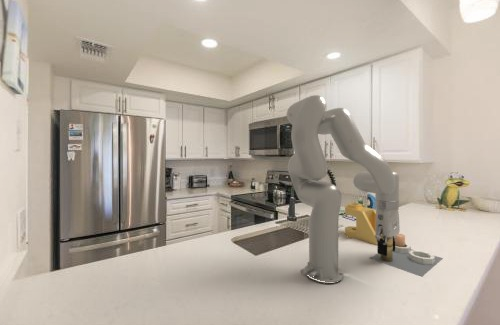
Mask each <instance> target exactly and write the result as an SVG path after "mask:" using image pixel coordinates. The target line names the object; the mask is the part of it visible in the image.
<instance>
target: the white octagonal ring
mask: <svg viewBox="0 0 500 325" xmlns="http://www.w3.org/2000/svg"><path fill="white" fill-rule="evenodd" d="M435 256H436V255H434V254H432V253H430V252H427V251H423V250H417V249H416V250H415V249H412V250H411V251H410V252H409V258H410V259H411V260H412V261H414V262H417V263H421V264H429V265H432V264H433V263H435Z"/></svg>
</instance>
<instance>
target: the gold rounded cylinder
mask: <svg viewBox="0 0 500 325" xmlns="http://www.w3.org/2000/svg"><path fill="white" fill-rule="evenodd" d="M381 235H383V236H385V235H384V234H381ZM381 238H382V239H383V240H384V237H381ZM386 245H387V256H384V255H381V254H380V259H381V260H383V261H386V262H392V261H393V237H390V238H387V242H386Z"/></svg>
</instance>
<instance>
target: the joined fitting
mask: <svg viewBox="0 0 500 325" xmlns="http://www.w3.org/2000/svg"><path fill="white" fill-rule="evenodd" d="M395 237H396V240H394V241H395V252H398V253H409V252H410V251H411V249H412V246H411V245H409V244H408V243H406V235H405V234H402V233H398V234H397V235H395Z"/></svg>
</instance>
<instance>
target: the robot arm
mask: <svg viewBox="0 0 500 325" xmlns="http://www.w3.org/2000/svg"><path fill="white" fill-rule="evenodd" d="M327 107H328V106H327V101H326V100H325V98H324V97H323V96H321V95H318V94H316V95H310V96H307V97H305V98H303V99H301V100H299V101H297V102H295V103H293V104H291V105H290V106H289V107H288V108H287V111H286V118H287V121H288V122H289V124H290V125H292V126H291V134H290V139H291V144H292V147H293V151H294V152H293V153H294V154H292V156H291V157H290V158H289V159H288V164H287V172H288V174H289V178H290V179H291V184H292V186H293V189H294V191H295V194H296V197H297V198H298V200H299V201H300V202H301V203H303V204H304V205H306V206H309V207H312V209H311V212H310V215H309V220H308V258H309V259H308V262H307V265H305V266H304V268H302V269H300V272H299V274H300V275H301V276H303V277H305V276H306V275H309V276H310V277H312V278H314V279H317V280H320V281H325V282H337V281H340V280H341V279H342V280H343V279H344V272H343V270H342V269H341V268H340V267H339V220H340V218H339V216H340V209H341V204H342V202H343V201H342V200H343V199H342V198H343V197H342V193H341V191H340V189H339V187H338V186H336V185H335V184H333V183H331V182H327V181H323V179H324V178H325V177H326V176H327V174H328V170H329V169H328V163H327V161H326V158H325V154H324V151H323V149H322V145H321V142H320V139H319V135H322V136H323V135H331V138H332V139H333V142H335V145H336V146H337V149H338V150H339V152H340V154H341V155H342V156H343V157H344V158H346V159H348V160H349V161H352V162H354V163H355V164H358V165H360V166H361V167H363V168H364V169H365V171H360V172H358V173H356V174H355V175H354V177H353V181H352V182H353V185H354V187H355V188H356V189H358V190H359V191H362V192H366V193H372V194H375V200H374V201H375V203H374V204H375V206H374V207H375V210H376V218H375V233H376V235H375V238H376V239H377V243H378V244H377V245H376V246H377V249H376V250H377V253H376V254H381V255H384V256H387V245H386V242H387V238H390V237H393V251H395V241H394V240H396V237H395V235H397V234H400V227H401V226H400V214H399V209H400V208H399V205H400V203H399V202H400V201H399V200H400V177H399V173H397V172H395V171H393V169H392V168H391V165H390V164H389V163H388V161H387V160H386V159H385V157H383V156H382V155H380V153H379V152H377V151H376V150H374V148H372V147H371V146H369V145H368V144H367V143H366V142H365V140H364V138H363V137H362V134H361V132H360V130H359V129H358V127H357V124H356V123H355V120H354V119H353V117H352V114H351V113H350V111H349V110H347V109H346V108H344V107H336V108H332V109H329V110H327ZM366 170H367V171H366ZM381 234H384V235H385V236H383V235H381ZM381 237H384V240H383V239H382V238H381ZM313 276H314V277H313ZM342 280H341V281H342ZM341 281H340V282H341Z"/></svg>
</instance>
